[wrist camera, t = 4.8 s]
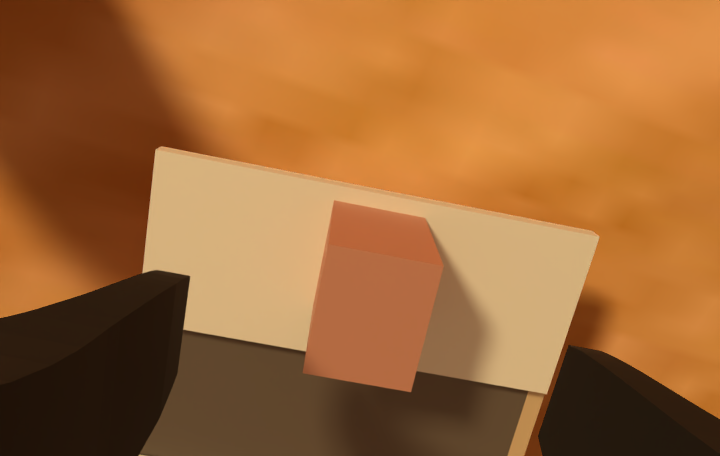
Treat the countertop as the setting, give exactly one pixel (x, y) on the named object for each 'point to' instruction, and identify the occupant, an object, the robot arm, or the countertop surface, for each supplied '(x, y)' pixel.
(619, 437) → the robot arm
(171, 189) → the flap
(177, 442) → the carton
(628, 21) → the countertop surface
